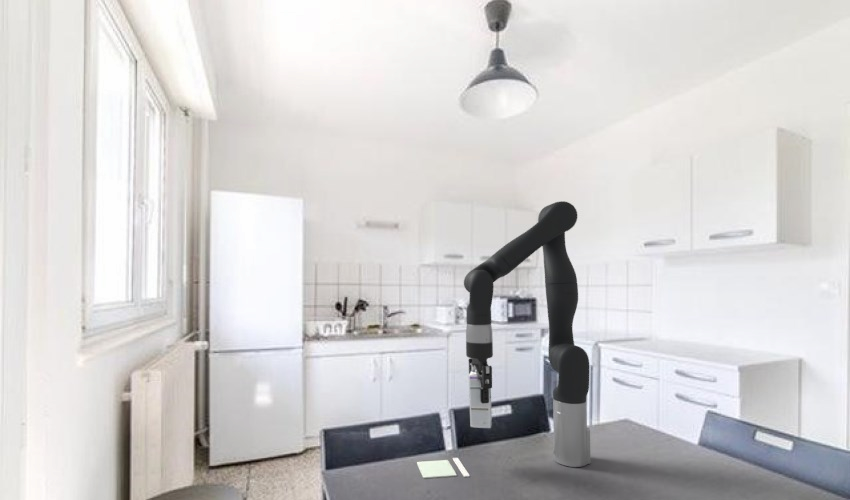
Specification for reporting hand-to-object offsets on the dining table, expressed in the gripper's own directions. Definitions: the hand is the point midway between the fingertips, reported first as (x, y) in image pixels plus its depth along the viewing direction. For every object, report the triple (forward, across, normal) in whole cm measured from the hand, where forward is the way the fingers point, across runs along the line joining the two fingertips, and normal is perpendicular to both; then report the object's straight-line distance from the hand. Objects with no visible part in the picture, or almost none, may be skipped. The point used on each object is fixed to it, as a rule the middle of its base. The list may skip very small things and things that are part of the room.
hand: (480, 399), depth 123 cm
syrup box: (+7, 0, 0) cm, 7 cm away
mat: (+18, 0, +13) cm, 22 cm away
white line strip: (+18, 0, +6) cm, 19 cm away
